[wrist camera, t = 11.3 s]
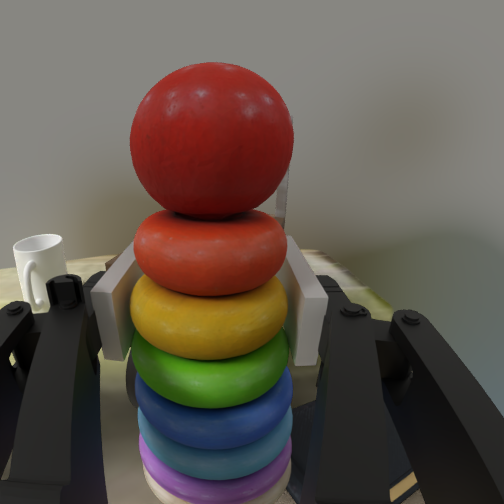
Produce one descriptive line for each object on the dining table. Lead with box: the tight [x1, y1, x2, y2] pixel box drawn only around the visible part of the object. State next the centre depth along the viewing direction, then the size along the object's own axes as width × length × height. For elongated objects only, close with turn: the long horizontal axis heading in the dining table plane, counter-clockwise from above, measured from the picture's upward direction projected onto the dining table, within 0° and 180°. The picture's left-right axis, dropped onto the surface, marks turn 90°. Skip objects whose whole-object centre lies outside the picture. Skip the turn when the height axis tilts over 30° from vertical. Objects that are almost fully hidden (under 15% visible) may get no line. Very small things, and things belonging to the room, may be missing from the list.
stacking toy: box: [130, 62, 294, 504], centre depth 11 cm, size 8×8×19 cm
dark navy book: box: [286, 400, 419, 504], centre depth 24 cm, size 20×2×15 cm
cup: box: [13, 234, 67, 313], centre depth 39 cm, size 8×12×10 cm
